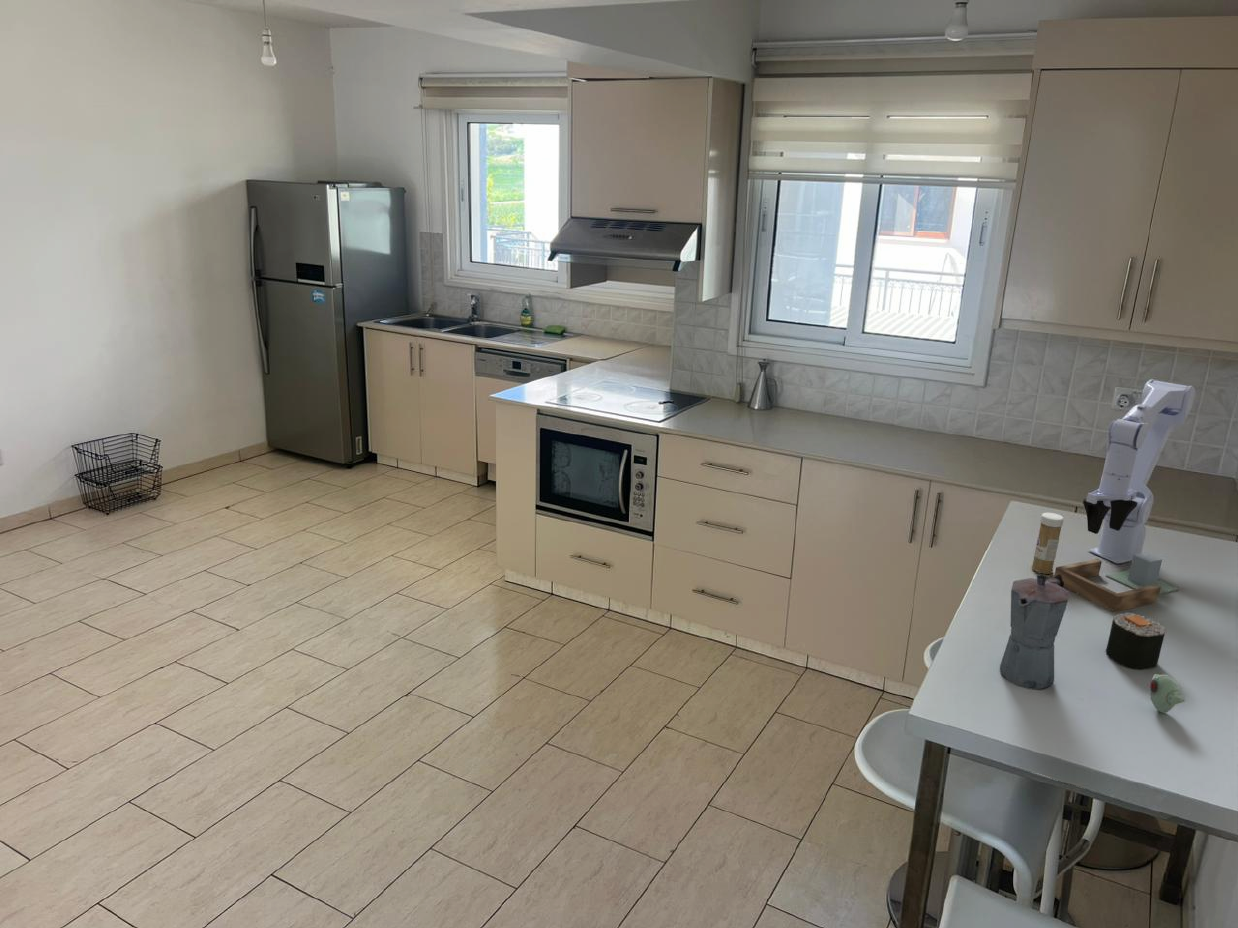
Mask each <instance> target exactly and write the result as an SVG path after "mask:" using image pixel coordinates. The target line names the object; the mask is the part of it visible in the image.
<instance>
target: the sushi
mask: <svg viewBox="0 0 1238 928" xmlns="http://www.w3.org/2000/svg"><path fill="white" fill-rule="evenodd" d="M1151 620H1152V619H1151V618H1145V616H1144V615H1142V616H1141V615H1140V614H1138V613H1137V614H1135V613H1133V612H1125V613H1118V614H1116V615H1115V616H1113V617H1112V622H1111V626H1110V633H1109V637H1108V641H1107V644H1106V649H1105V653H1106V656H1108V657H1109V658H1110V659H1112V660H1113V661H1115V663H1117V664H1118V665H1120V666H1123V667H1125V668H1129V669H1131V670H1132V669H1133V670H1147V669H1148V670H1149V669H1153V668H1156V667H1157V666H1158V662H1159V658H1160V655H1161V650H1162V646H1163V644H1164V643H1163V642H1164V639H1165V634H1166V630H1167V628H1166V627H1165V626H1164V625H1161V622H1156V621H1151Z"/></svg>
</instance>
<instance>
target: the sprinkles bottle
mask: <svg viewBox="0 0 1238 928" xmlns="http://www.w3.org/2000/svg"><path fill="white" fill-rule="evenodd" d="M1064 520H1065V519H1064V517H1063V516H1062V515H1060V514H1058V513H1055V512H1043V513H1042V514H1041V516H1040V527H1039V532H1038V536H1037V540H1036V544H1035V549H1034V556H1033V560H1032V565H1031V570H1033V571H1034V572H1035V573H1038V574H1041V575H1045V574H1046V575H1049V574H1050V575H1051V574H1053V571H1054V569H1053V568H1054V564H1055V560H1056V557H1057V551H1058V547H1059V542H1060V536H1061V531H1062V527H1063V525H1064Z"/></svg>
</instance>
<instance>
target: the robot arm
mask: <svg viewBox="0 0 1238 928" xmlns="http://www.w3.org/2000/svg"><path fill="white" fill-rule="evenodd" d="M1195 397H1196V389H1195V388H1194V386H1193V385H1184V384H1178V383H1172V382H1166V381H1161V380H1155V379H1153V378H1151V379H1149V380H1148V381H1147V382H1146V383H1145V384H1144V386H1143V390H1142V393H1141V403H1139V404H1137V405H1134V406H1133V407H1131V408H1130V410H1129V411H1128V412H1127V413H1126V414H1125V415H1124V416H1123V417H1122V418H1117V419H1116V420H1114V419H1113V421H1112V422H1111V423H1110V424H1109V427H1108V431H1107V435H1106V446H1105V447H1106V448H1105V451H1106V452H1107V453H1106V458H1105V460H1104V461H1105V462H1104V466H1103V469H1102V470H1103V471H1102V474H1101V479H1100V482H1099V486H1098V489H1097V488H1096V489H1095V490H1093V491H1092V492H1088V493H1087V497H1086V498H1083V500H1082V501H1083V502H1082V505H1083V507H1084V509H1085V514H1086V519H1087V520H1086V521H1087V522H1086V523H1087V532H1089V533H1092V534H1096V535H1098V534H1099V532H1100V530H1101V534H1100V537H1099V542H1098V547H1095V548H1089V550H1088V552H1090V553H1092V554H1094V555H1096V556H1099V557H1101V558H1104V559H1106V560H1108V561H1111V562H1113V563H1115V564H1124V563H1127V562H1132V559H1133V555H1136V554H1141V553H1143V552H1142V551H1143V548H1144V543H1145V540H1146V535H1147V529H1146V525H1145V524H1146V522H1147V521H1148V519H1149V518H1150V515H1151V511H1152V507H1153V504H1154V501H1155V500H1154V499H1155V498H1154V495H1153V494H1154V493H1153V492H1152V491H1151V490H1150V488H1148V486H1147V485H1148V482H1149V480H1150V478H1151V476H1152V473H1153V471H1154V469H1155V467H1156V464H1157V463H1158V460H1159V458H1160V456H1161V454H1162V451H1164V450H1163V449H1164V447H1165V445H1166V443H1167V441H1168V439H1169V437H1170V435H1171V433H1172V431H1174V428H1175V427H1177V426H1181V425H1183V424H1184V423H1185V420H1187V419H1188V417H1189V414H1190V411H1191V410H1192V407H1193V405H1194V400H1195ZM1101 527H1102V529H1101Z"/></svg>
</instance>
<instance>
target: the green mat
mask: <svg viewBox="0 0 1238 928" xmlns="http://www.w3.org/2000/svg"><path fill="white" fill-rule="evenodd" d="M1129 572H1130V569H1128V570H1122V571H1118V572H1114V573H1108V574H1105V577H1107V578H1109V579H1111V580H1113V581H1116V582H1117V583H1120V584H1123V585H1124V586H1126V587H1129V588H1131V589H1132V590H1134V589H1139V588H1143V586H1141V585H1139V584H1136V583H1134V582H1132V581H1130V580H1128V577H1129ZM1155 585H1158V586H1160V587H1161V589H1160V593H1159V595H1164V594H1167V593H1172V592H1175V591H1179V588H1177V587H1175V586H1173V585H1170V584H1168V583H1166V582H1163V581H1161V580H1159V579H1157V583H1156V584H1155Z"/></svg>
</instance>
